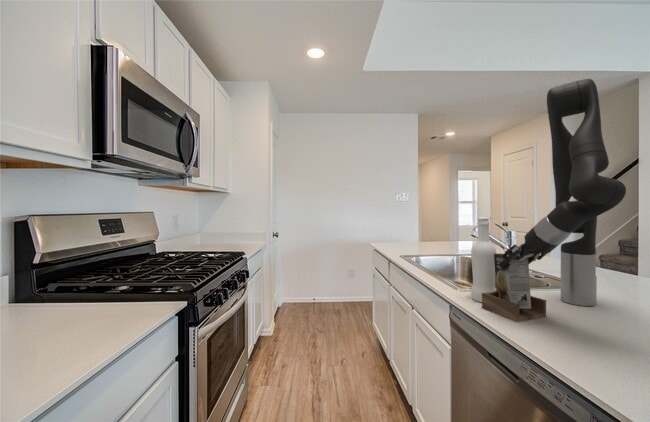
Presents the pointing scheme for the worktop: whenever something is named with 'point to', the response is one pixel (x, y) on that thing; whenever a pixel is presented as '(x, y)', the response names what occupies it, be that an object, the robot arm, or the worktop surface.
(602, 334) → the worktop surface
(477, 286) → the bottle
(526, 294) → the coffee box
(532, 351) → the worktop surface
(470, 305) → the worktop surface
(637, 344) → the worktop surface
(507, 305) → the holder
